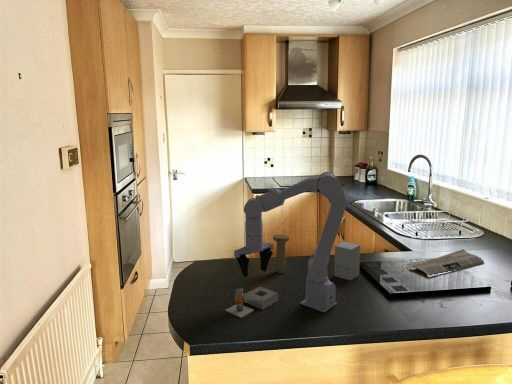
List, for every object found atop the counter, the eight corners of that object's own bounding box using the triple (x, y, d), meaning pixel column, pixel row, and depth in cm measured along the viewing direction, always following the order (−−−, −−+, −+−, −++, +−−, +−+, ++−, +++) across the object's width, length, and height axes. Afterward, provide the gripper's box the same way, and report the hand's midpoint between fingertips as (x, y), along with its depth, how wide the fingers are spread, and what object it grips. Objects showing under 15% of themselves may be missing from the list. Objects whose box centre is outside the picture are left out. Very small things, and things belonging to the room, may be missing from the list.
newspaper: (428, 279, 151) (429, 271, 151) (403, 269, 162) (404, 260, 162) (485, 264, 167) (486, 256, 166) (459, 255, 178) (460, 248, 177)
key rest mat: (253, 311, 126) (253, 309, 126) (241, 318, 122) (241, 316, 122) (238, 304, 131) (238, 303, 131) (225, 310, 126) (225, 309, 126)
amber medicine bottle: (244, 307, 128) (244, 287, 126) (244, 311, 125) (244, 291, 124) (235, 307, 127) (234, 287, 126) (235, 312, 124) (234, 291, 123)
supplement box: (359, 275, 154) (361, 245, 152) (350, 281, 149) (351, 249, 147) (343, 270, 159) (344, 241, 157) (333, 276, 154) (334, 245, 152)
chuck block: (277, 301, 133) (277, 292, 132) (262, 309, 127) (262, 301, 126) (259, 294, 138) (259, 286, 138) (244, 302, 132) (244, 293, 132)
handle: (275, 268, 162) (275, 234, 159) (290, 271, 159) (290, 235, 156) (271, 273, 157) (271, 237, 155) (286, 275, 155) (286, 239, 152)
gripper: (264, 228, 137) (264, 265, 139) (228, 235, 129) (229, 274, 131) (276, 232, 131) (276, 271, 133) (240, 240, 123) (241, 281, 125)
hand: (254, 273), depth 132 cm, fingers open, 7 cm apart
